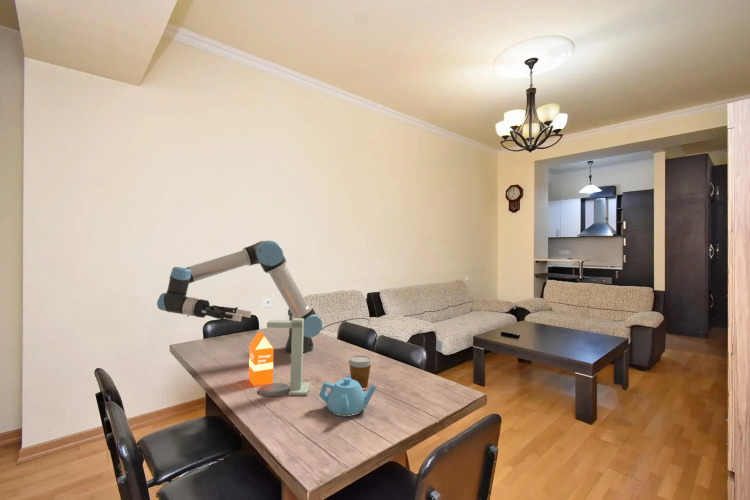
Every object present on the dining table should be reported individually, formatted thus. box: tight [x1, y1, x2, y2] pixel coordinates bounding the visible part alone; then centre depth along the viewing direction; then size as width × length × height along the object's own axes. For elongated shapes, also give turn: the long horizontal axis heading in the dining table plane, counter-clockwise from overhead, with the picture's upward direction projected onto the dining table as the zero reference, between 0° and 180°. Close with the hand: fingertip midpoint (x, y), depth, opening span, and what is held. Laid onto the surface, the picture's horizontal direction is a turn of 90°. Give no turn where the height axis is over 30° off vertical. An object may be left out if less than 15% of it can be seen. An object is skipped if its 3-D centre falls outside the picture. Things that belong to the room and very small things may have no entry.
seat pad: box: [257, 382, 290, 398], centre depth 136 cm, size 12×12×1 cm
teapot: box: [318, 374, 377, 415], centre depth 123 cm, size 15×15×11 cm
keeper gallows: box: [266, 318, 311, 396], centre depth 137 cm, size 16×10×28 cm, turn 94°
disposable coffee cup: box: [347, 354, 373, 388], centre depth 141 cm, size 10×10×12 cm
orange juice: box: [248, 331, 274, 387], centre depth 145 cm, size 8×9×20 cm
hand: (246, 316), depth 151 cm, fingers open, 13 cm apart
